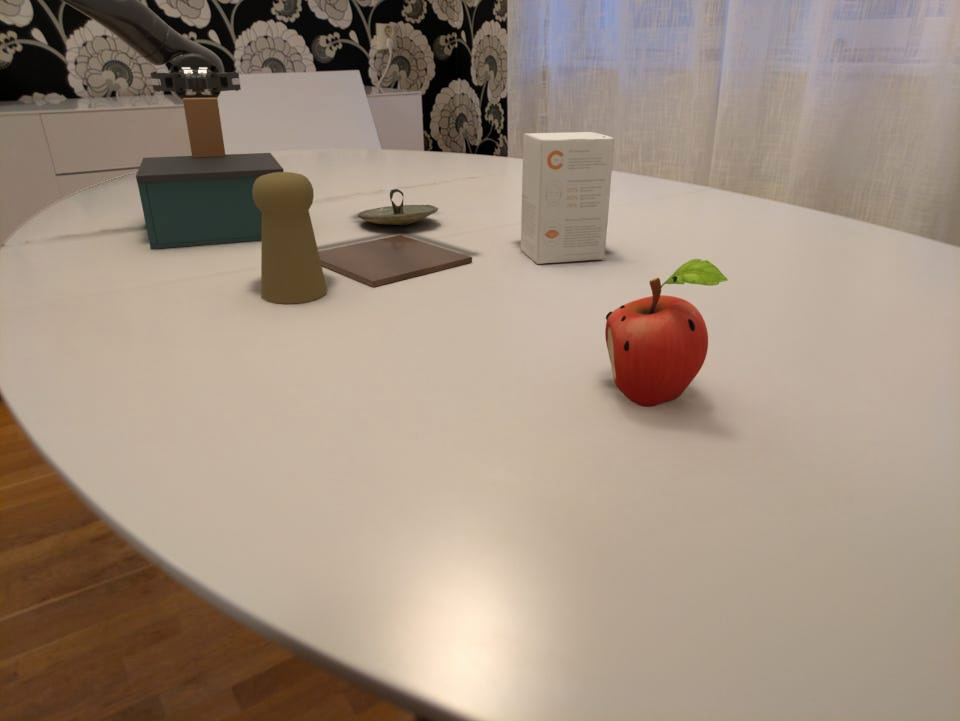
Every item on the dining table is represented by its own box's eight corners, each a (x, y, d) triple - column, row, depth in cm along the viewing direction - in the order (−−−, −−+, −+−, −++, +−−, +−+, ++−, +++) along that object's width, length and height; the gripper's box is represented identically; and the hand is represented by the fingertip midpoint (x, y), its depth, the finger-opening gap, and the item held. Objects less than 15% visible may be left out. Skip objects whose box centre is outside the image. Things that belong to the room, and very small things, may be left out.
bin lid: (137, 183, 73) (121, 106, 70) (144, 164, 85) (131, 98, 82) (284, 175, 78) (276, 104, 75) (271, 158, 91) (264, 96, 87)
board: (373, 287, 65) (372, 281, 65) (305, 259, 74) (304, 253, 73) (472, 262, 73) (472, 257, 73) (400, 239, 82) (400, 234, 82)
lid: (412, 248, 84) (421, 209, 81) (342, 221, 85) (349, 183, 83) (442, 232, 93) (451, 197, 91) (379, 208, 95) (386, 174, 92)
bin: (150, 249, 77) (137, 182, 74) (155, 223, 88) (144, 164, 85) (290, 238, 82) (283, 175, 79) (278, 214, 93) (271, 159, 90)
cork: (261, 306, 60) (243, 180, 55) (261, 285, 65) (245, 169, 61) (329, 300, 61) (318, 177, 57) (324, 280, 67) (314, 167, 62)
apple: (576, 403, 44) (588, 254, 40) (618, 367, 49) (632, 231, 45) (693, 438, 40) (720, 277, 36) (725, 394, 45) (751, 249, 41)
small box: (583, 246, 80) (592, 130, 74) (605, 260, 74) (616, 137, 69) (518, 249, 78) (522, 132, 72) (535, 265, 72) (541, 138, 67)
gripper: (146, 53, 104) (139, 54, 90) (235, 53, 109) (243, 54, 94) (155, 104, 107) (150, 113, 93) (242, 103, 112) (250, 111, 97)
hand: (197, 84), depth 93 cm, fingers closed
